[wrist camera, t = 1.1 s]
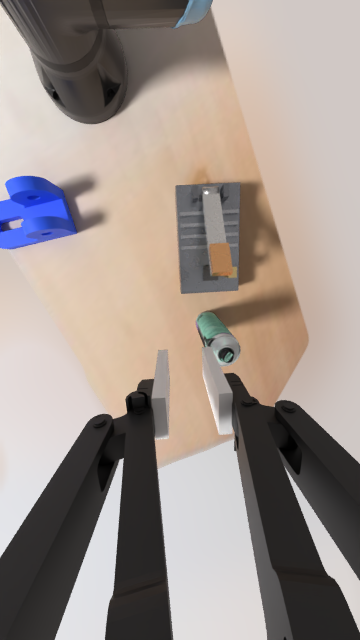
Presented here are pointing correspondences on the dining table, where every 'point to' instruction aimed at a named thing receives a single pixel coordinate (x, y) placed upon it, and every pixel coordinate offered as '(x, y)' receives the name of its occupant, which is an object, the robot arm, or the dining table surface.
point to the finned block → (194, 238)
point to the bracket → (34, 212)
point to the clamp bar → (216, 233)
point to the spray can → (218, 338)
